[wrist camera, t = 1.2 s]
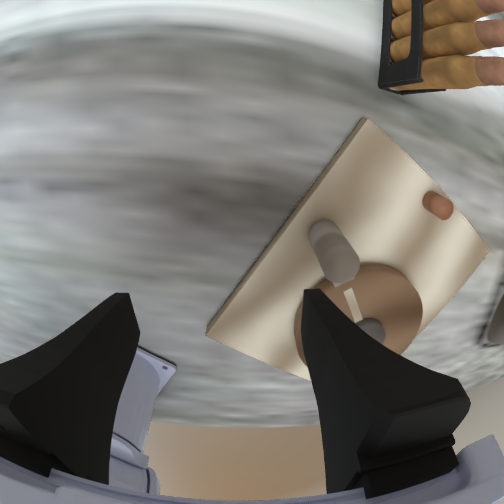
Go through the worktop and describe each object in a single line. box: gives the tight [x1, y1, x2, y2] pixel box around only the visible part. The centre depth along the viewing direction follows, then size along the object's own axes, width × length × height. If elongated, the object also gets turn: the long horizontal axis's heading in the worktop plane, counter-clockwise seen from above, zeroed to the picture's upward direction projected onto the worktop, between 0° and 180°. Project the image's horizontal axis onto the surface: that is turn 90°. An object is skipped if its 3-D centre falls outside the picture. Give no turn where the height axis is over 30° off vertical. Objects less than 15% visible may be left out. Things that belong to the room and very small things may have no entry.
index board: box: [205, 118, 490, 381], centre depth 21 cm, size 16×19×3 cm
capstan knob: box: [294, 220, 423, 366], centre depth 19 cm, size 14×10×4 cm
